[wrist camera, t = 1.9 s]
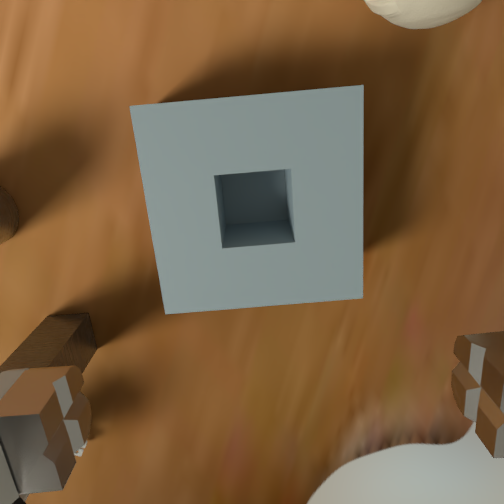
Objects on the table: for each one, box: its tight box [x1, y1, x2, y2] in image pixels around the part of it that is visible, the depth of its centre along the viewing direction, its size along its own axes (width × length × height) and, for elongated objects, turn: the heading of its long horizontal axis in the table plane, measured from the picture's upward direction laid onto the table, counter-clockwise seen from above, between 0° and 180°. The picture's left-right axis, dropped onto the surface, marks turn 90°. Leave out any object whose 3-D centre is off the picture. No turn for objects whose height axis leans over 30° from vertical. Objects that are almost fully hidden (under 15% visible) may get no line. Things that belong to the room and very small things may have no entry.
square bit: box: [0, 313, 97, 373], centre depth 28 cm, size 3×3×9 cm
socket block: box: [130, 85, 364, 314], centre depth 26 cm, size 12×12×6 cm
